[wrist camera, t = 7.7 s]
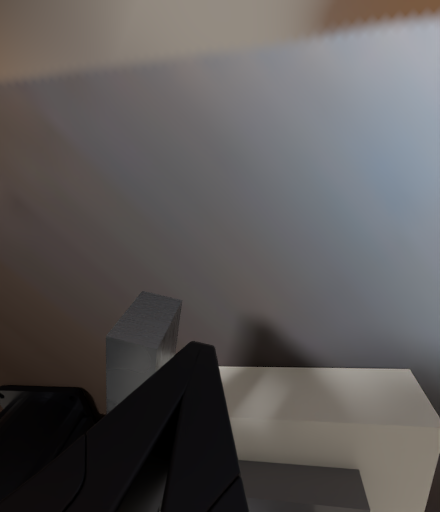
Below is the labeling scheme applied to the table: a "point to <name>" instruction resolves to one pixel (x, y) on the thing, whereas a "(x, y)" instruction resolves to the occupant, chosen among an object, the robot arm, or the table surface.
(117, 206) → the table surface
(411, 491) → the socket block
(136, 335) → the bar
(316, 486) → the plug
